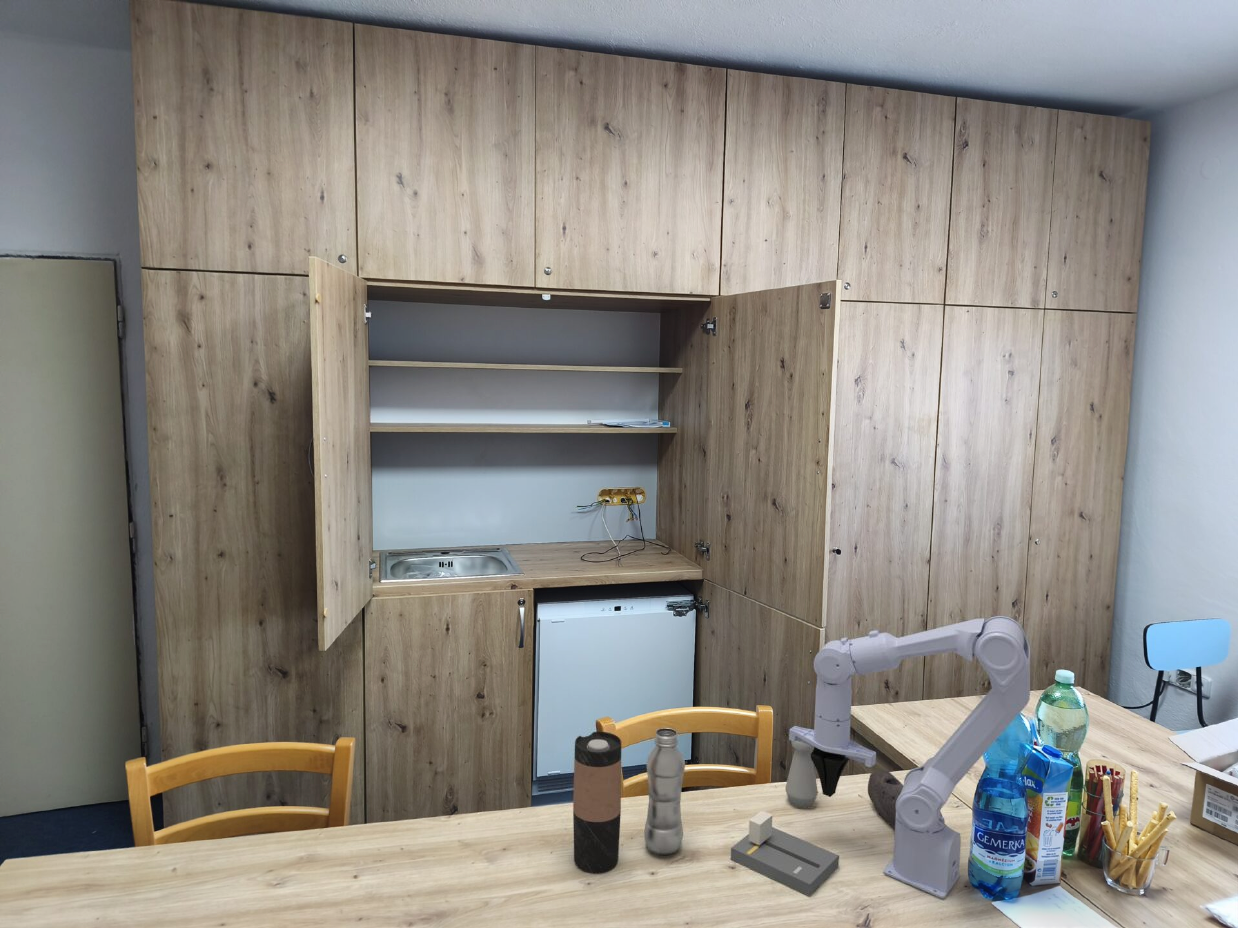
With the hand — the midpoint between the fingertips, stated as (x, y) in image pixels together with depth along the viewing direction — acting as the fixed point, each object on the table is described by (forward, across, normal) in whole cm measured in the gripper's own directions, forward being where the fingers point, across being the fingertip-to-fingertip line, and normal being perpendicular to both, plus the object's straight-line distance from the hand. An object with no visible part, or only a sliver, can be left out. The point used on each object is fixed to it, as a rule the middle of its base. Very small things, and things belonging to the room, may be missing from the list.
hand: (829, 793), depth 130 cm
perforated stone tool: (+10, -6, -15) cm, 19 cm away
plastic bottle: (+10, +20, +19) cm, 29 cm away
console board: (+9, +3, +9) cm, 13 cm away
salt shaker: (+10, +10, -10) cm, 17 cm away
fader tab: (+7, +8, +9) cm, 14 cm away
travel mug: (+10, +26, +29) cm, 40 cm away
